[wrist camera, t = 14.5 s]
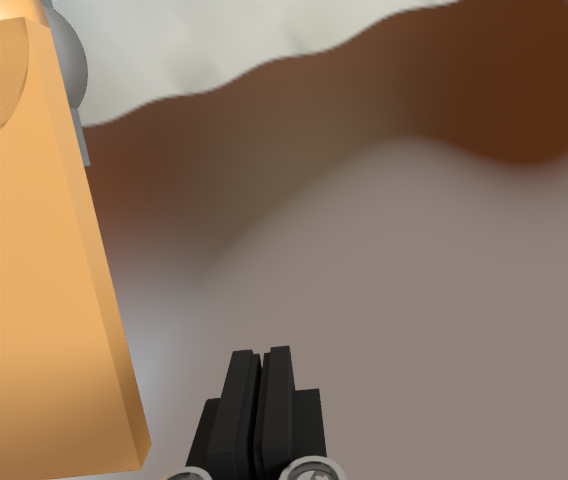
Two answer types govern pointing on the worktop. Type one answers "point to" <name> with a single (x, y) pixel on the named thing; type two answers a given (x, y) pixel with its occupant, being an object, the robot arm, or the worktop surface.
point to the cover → (55, 282)
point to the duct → (70, 67)
